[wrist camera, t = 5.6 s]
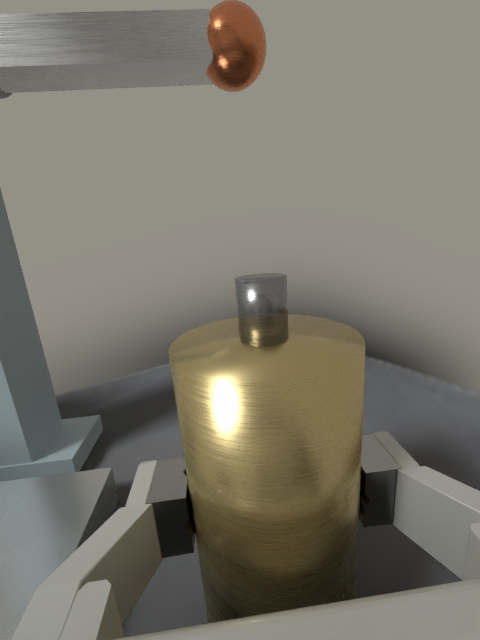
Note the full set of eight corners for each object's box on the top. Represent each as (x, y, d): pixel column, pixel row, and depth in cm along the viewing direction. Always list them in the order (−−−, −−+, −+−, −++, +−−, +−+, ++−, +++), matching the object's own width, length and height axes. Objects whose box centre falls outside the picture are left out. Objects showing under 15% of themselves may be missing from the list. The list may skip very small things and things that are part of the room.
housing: (211, 747, 8) (135, 307, 5) (211, 561, 12) (172, 274, 9) (385, 713, 8) (421, 280, 5) (322, 544, 12) (321, 261, 9)
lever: (-71, 82, 12) (-100, -16, 11) (-14, 114, 15) (-34, 38, 14) (273, 69, 13) (270, -23, 12) (262, 101, 16) (258, 30, 15)
